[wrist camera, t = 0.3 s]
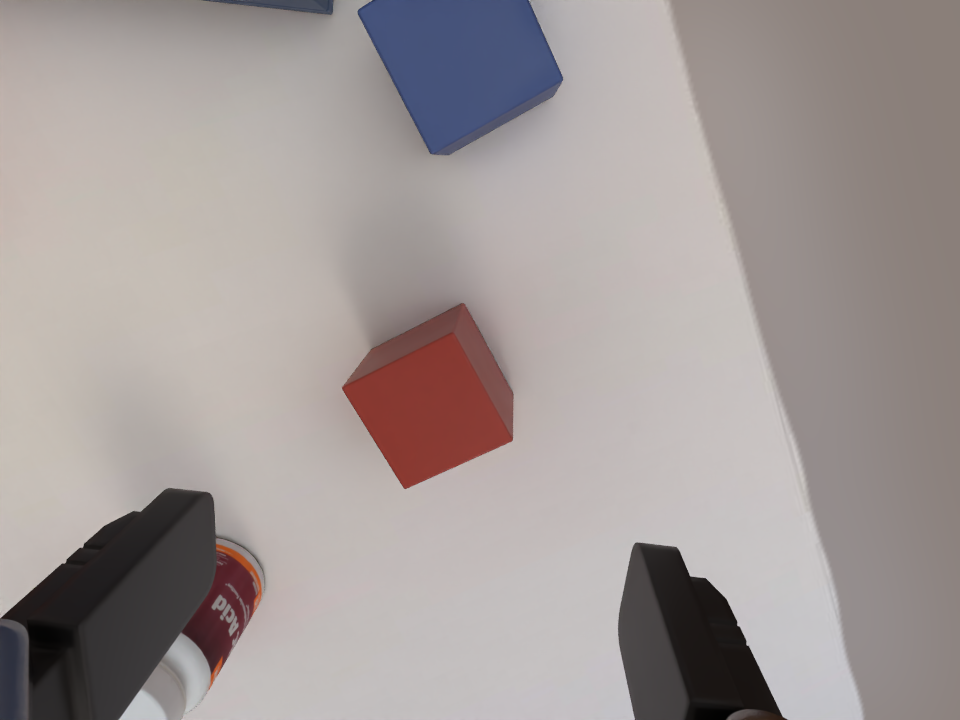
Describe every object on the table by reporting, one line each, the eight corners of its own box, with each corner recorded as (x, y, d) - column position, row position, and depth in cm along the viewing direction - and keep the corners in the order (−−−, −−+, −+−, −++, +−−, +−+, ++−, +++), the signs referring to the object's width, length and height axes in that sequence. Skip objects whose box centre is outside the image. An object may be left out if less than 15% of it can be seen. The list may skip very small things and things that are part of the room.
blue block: (386, 38, 22) (355, 10, 18) (498, -31, 22) (493, -78, 17) (446, 156, 24) (431, 155, 19) (555, 95, 23) (564, 80, 18)
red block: (369, 349, 26) (340, 387, 22) (464, 301, 25) (453, 331, 21) (422, 437, 27) (404, 490, 23) (514, 394, 26) (513, 441, 22)
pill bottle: (270, 618, 31) (184, 777, 23) (177, 610, 31) (61, 765, 23) (264, 537, 30) (171, 677, 22) (167, 529, 30) (39, 665, 22)
